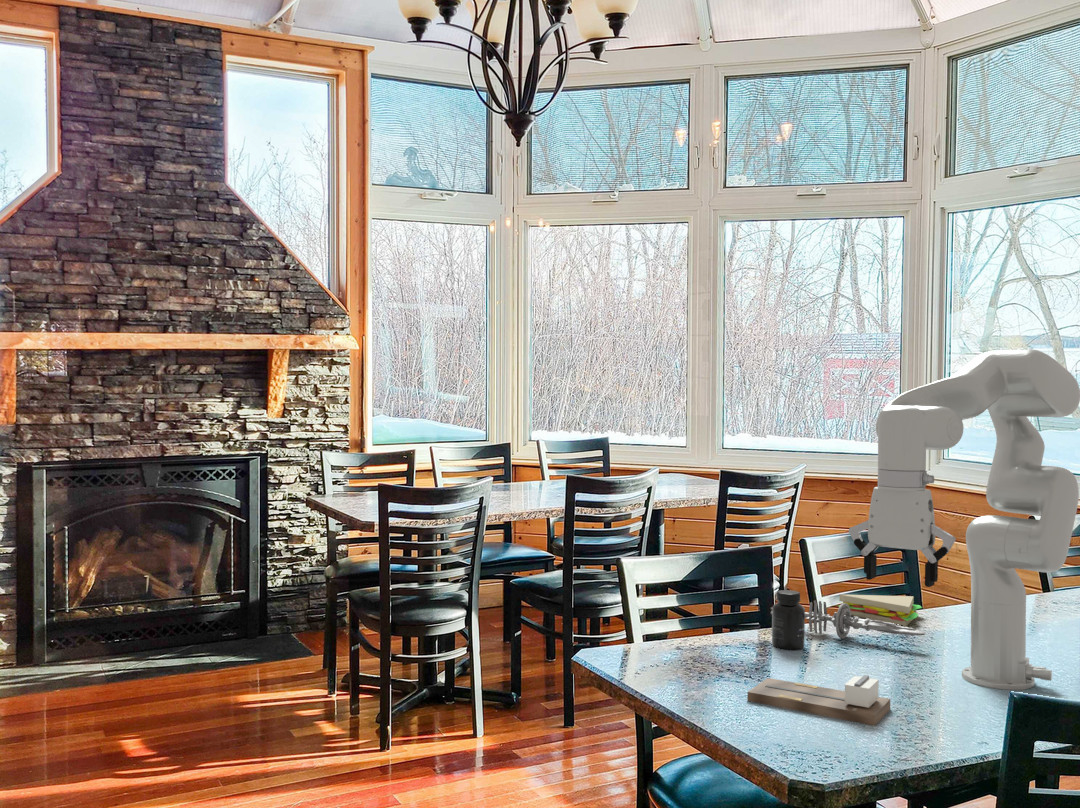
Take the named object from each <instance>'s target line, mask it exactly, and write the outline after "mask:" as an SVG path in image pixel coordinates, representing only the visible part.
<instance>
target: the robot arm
mask: <svg viewBox="0 0 1080 808" xmlns="http://www.w3.org/2000/svg"><path fill="white" fill-rule="evenodd" d="M1079 404H1080V386H1079V383H1078V381H1077V379H1076V378H1075V376H1074V375H1073V374H1072V373H1071V372H1070V371H1069V370H1068V369H1066V368H1065V367H1064V366H1063V365H1062V364H1060V363H1059V362H1058V360H1056V359H1055V358H1054V357H1052V356H1050V355H1049V354H1047V353H1046V352H1043V351H1040V350H1037V349H1014V350H1013V349H1011V350H1010V349H1009V350H1007V349H1004V350H1003V349H1001V350H990V351H985V352H983V353H980V354H979V355H977V356H976V357H974V358H973V359H972V360H971V361H969V362H968V363H966V364H965V365H964V366H963V367H961V368H960V369H959V370H958V371H956V372H955V373H953V374H952V375H951V376H950V377H949V376H948V377H946V378H943V379H939V380H936V381H933V382H931V383H927V384H924V385H921V386H918V387H916V388H913V389H911V390H908V391H905V392H903V393H901V394H899V395H898V396H897V397H895V398H893V400H891V401H890V402H888V403H887V404H886V405H885V406H884V407H883V408H882V409H881V410H880V411H879V413H878V415H877V419H876V421H875V433H876V436H877V486H875V487H873V490H872V494H871V499H870V506H869V511H868V519H867V520H866V521H863V522H860V523H858V524H856V525H853V526H851V527H849V528H848V533H849V535H850V537H851V539H852V540H853V544H854V545H855V546H856V547H857V549H858V550H859V551H860V553H861V555H862V556H863V574H865V575H866V576H865V577H866V580H867V581H870V580H873V579H875V578H877V566H878V565H877V564H878V562H877V561H878V559H877V557H878V556H877V555H876V554H875V551H877V549H878V548H879V547H883V548H891V549H899V550H901V549H902V550H913V551H920V552H921V553H922V555H924V557H925V558H926V559H927V562H925V563H924V564H925V565H924V586H925V587H926V588H931V587H932V586H935V583H937V581H938V579H939V577H938V576H939V562H940V561H941V559H943V558H944V557H945V556H946V555H947V554H949V552H950V550H951V549H952V547H953V546H954V543H955V542H956V540H957V538H956V537H955V536H954V535H952V534H951V533H949V532H948V531H946V530H943V528H940V527H939V526H937V525H936V521H935V510H934V501H933V496H932V491H931V489H928V488H927V489H926V487H927V485H928V484H934V483H935V476H934V475H933V474H932V475H931V474H929V473H927V470H926V458H927V457H926V450H928V451H929V450H931V451H944V450H949V449H951V448H954V447H955V446H956V445H957V444H958V443H959V442H960V441H961V439H962V438H963V435H964V422H963V421H964V420H969V419H973V418H976V417H979V416H980V415H981V414H983V413H984V412H985V411H986V410H987V411H988V414H989V416H990V419H991V421H992V425H993V427H994V429H995V434H996V444H995V449H994V454H993V458H992V461H991V466H990V470H989V474H988V478H987V479H988V480H987V485H986V490H985V497H986V501H987V503H988V505H989V506H990V507H991V508H993V509H994V510H997V511H1001V512H1005V513H1012V514H1020V515H1021V514H1022V515H1031V516H1040V519H1034V518H1033V519H1032V518H1024V517H1023V518H1021V517H1018V516H1017V517H1015V516H1007V515H1006V516H1005V515H994V514H992V515H991V514H988V515H987V514H986V515H983V516H978V517H976V518H974V519H973V520H972V521H971V522H970V523H969V524H968V526H967V528H966V532H965V544H966V551H967V555H968V560H969V561H968V562H969V568H970V570H969V571H970V589H971V590H970V593H971V594H970V596H971V597H970V666H968V667H964V668H963V669H962V670H961V677H962V678H963V679H964V680H965V681H967V682H968V683H971V684H974V685H977V686H981V687H984V688H989V689H996V690H1003V691H1004V690H1006V691H1022V690H1029V689H1031V688H1033V687H1035V684H1036V681H1035V679H1040V680H1042V681H1043V680H1044V681H1049V682H1050V681H1052V680H1053V671H1052V669H1047V668H1046V667H1044V666H1034V665H1033V664H1032V663H1030V658H1029V657H1027V656H1026V650H1027V649H1026V647H1027V646H1026V645H1027V644H1026V643H1027V642H1026V641H1027V639H1026V638H1027V634H1026V633H1027V631H1026V630H1027V621H1026V620H1027V590H1026V587H1025V585H1024V582H1023V581H1022V578H1021V577H1020V575H1019V573H1018V572H1017V570H1016V569H1018V570H1025V571H1032V572H1038V573H1055V572H1057V571H1059V570H1061V569H1062V568H1063V566H1064V565H1065V562H1066V560H1067V557H1068V553H1069V549H1070V544H1071V539H1072V535H1073V529H1074V524H1075V520H1076V516H1077V511H1078V506H1079V505H1078V504H1079V498H1080V492H1079V485H1078V481H1077V478H1076V476H1075V474H1074V473H1073V472H1072V471H1070V470H1069V469H1067V468H1066V467H1065V468H1064V467H1060V466H1054V465H1042V463H1043V458H1044V454H1045V442H1044V439H1043V437H1042V435H1041V433H1040V432H1039V431H1038V429H1037V428H1036V427H1035V426H1034V424H1033V423H1032V421H1030V420H1029V418H1028V417H1031V418H1032V417H1033V418H1063V417H1068V416H1070V415H1072V414H1073V413H1074V412H1075V411H1076V410H1077V409H1078V407H1079V406H1080V405H1079ZM865 530H867V539H868V543H867V542H866V541H865V539H863V537H862V535H861V532H863V531H865ZM936 537H937V538H938V539H940V540H942V545H941V546H940V548H939V549H937V550H936V548H935V547H934V545H935V543H936Z"/></svg>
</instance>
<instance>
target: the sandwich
mask: <svg viewBox="0 0 1080 808" xmlns="http://www.w3.org/2000/svg"><path fill="white" fill-rule="evenodd" d="M914 598H915V597H914V595H913V596H911V595H909V596H908V595H877V594H876V595H873V594H871V595H870V594H841V593H840V594H839V602H842V604H843V603H847V604H848V605H849V607H850V610H851V616H852V617H856V616H857V617H860V618H861V619H867V618H869V619H871V620H876V621H877V620H878V621H883V622H889V623H894V624H899V625H903V627H907V626H908V625H909V624H910V623H911V622H912V621H913V620H914V619H917V618H918V616H919V614H918V613H917V612H918V611H917V610H920V609H923V607H922V606H921V605H919V604H914V602H915V601H914V600H915V599H914ZM837 607H838V608H839V607H840V605H837ZM845 614H846V613H845ZM906 625H907V626H906Z"/></svg>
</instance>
